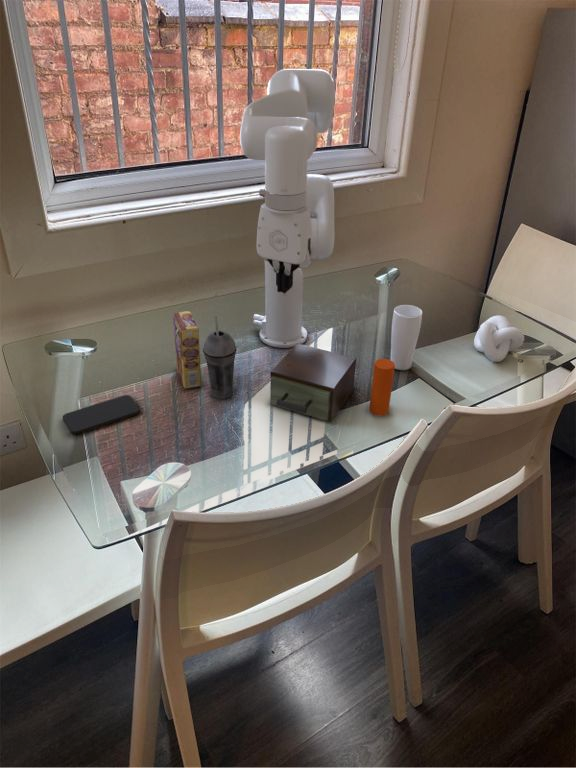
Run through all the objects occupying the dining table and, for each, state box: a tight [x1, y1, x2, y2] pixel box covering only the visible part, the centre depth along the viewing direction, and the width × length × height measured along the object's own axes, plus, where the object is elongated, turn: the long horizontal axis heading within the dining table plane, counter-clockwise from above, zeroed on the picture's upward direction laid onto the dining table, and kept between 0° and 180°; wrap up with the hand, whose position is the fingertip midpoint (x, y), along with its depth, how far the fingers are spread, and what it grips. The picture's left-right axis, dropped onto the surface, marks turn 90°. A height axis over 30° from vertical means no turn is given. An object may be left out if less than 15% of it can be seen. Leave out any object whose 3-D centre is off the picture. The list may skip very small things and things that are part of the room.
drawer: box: [270, 376, 331, 422], centre depth 131 cm, size 17×13×7 cm
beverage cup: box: [202, 315, 238, 400], centre depth 131 cm, size 7×7×20 cm
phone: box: [62, 394, 141, 435], centre depth 129 cm, size 7×1×15 cm
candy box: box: [172, 311, 202, 389], centre depth 138 cm, size 9×4×15 cm, turn 20°
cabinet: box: [270, 343, 357, 422], centre depth 134 cm, size 14×15×9 cm
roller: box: [368, 358, 395, 417], centre depth 129 cm, size 4×4×12 cm
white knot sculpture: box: [473, 314, 525, 363], centre depth 152 cm, size 11×12×9 cm
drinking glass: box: [389, 304, 423, 371], centre depth 144 cm, size 7×7×15 cm
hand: (284, 289), depth 121 cm, fingers closed
